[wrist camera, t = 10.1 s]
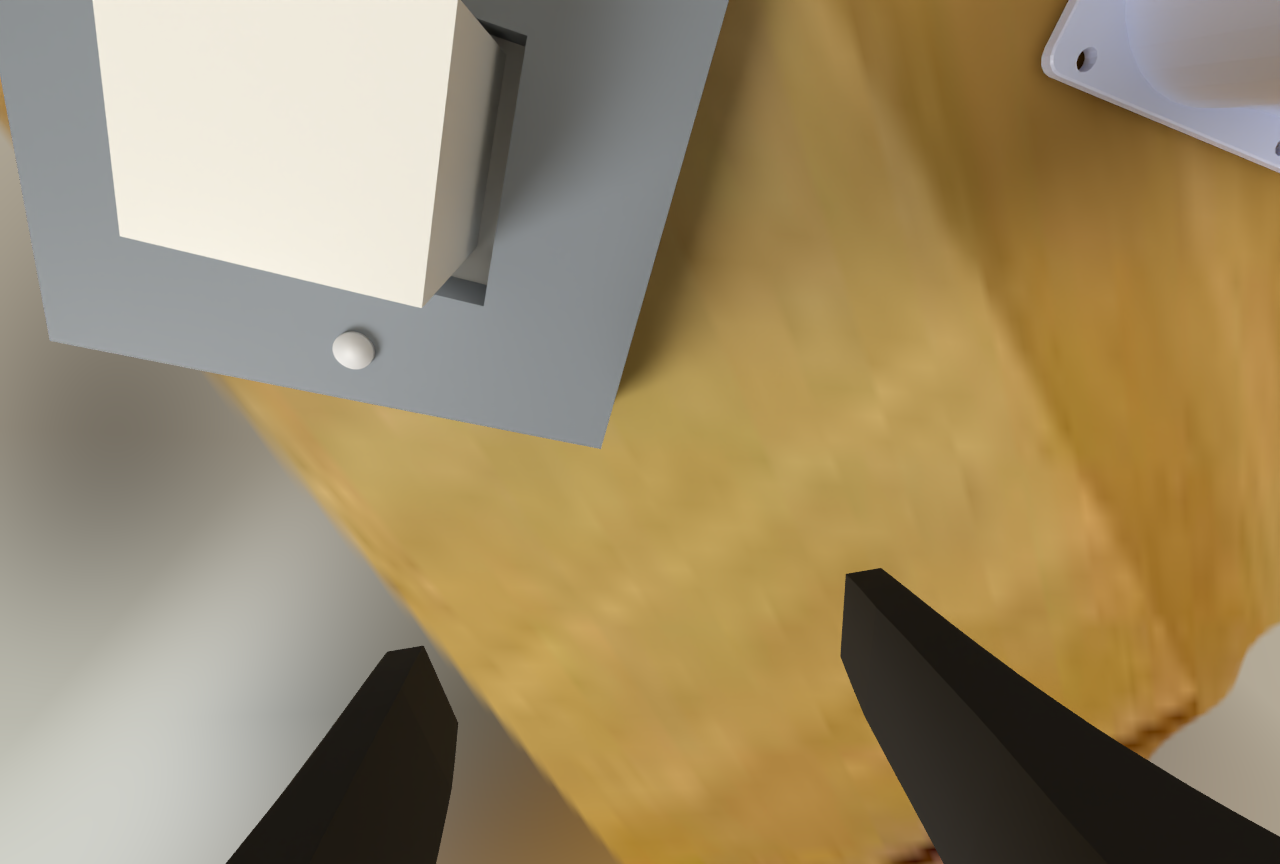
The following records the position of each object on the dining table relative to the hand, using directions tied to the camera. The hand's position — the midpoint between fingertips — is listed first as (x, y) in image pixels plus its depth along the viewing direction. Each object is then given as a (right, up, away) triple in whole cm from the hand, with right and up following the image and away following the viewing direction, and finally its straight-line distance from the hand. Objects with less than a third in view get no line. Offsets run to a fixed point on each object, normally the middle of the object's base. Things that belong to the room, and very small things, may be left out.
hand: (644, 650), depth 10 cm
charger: (-6, +11, +4) cm, 13 cm away
